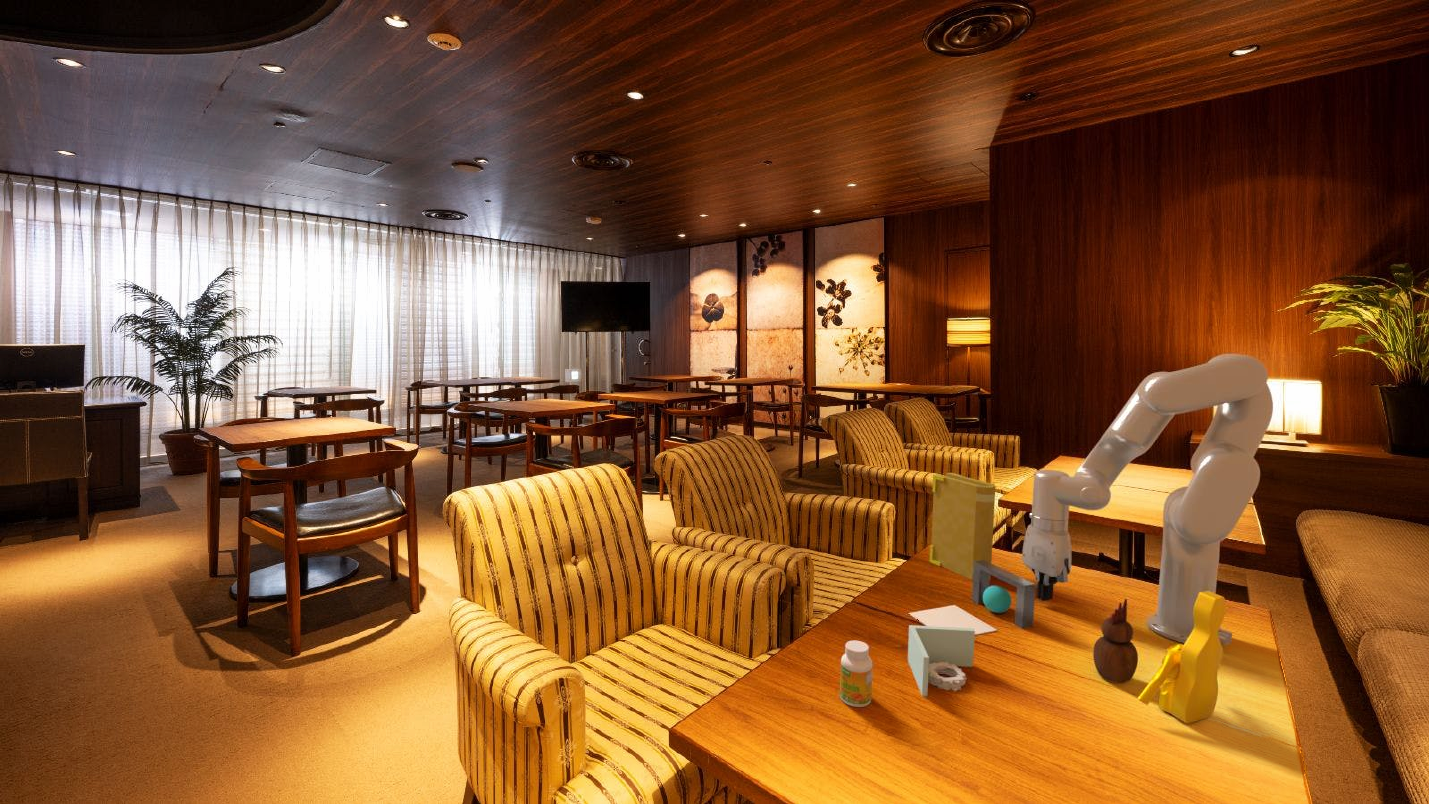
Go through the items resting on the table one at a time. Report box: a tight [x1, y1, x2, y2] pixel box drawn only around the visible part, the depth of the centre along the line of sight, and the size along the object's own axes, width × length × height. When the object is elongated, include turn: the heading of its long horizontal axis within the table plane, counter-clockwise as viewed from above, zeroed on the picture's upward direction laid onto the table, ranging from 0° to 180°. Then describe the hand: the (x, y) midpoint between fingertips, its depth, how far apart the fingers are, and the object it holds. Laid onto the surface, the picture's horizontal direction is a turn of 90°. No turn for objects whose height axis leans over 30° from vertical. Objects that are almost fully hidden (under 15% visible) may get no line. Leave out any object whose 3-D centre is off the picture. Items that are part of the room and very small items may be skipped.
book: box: [928, 472, 996, 582], centre depth 164 cm, size 17×7×25 cm, turn 25°
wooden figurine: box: [1092, 598, 1139, 684], centre depth 112 cm, size 7×6×15 cm
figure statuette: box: [1137, 591, 1226, 724], centre depth 101 cm, size 18×8×22 cm, turn 110°
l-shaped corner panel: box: [907, 624, 976, 697], centre depth 112 cm, size 12×12×8 cm
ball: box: [983, 585, 1012, 614], centre depth 140 cm, size 6×6×6 cm
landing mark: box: [908, 604, 998, 636], centre depth 135 cm, size 13×13×1 cm
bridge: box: [971, 560, 1037, 630], centre depth 139 cm, size 3×15×10 cm, turn 19°
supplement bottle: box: [839, 640, 874, 708], centre depth 105 cm, size 5×5×10 cm
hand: (1044, 598), depth 143 cm, fingers closed
